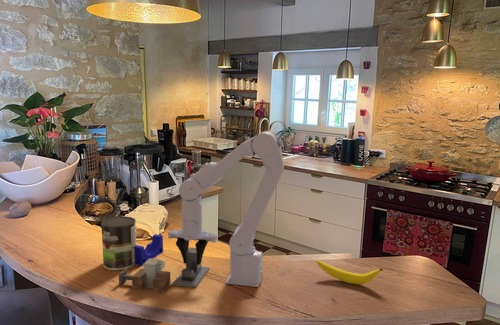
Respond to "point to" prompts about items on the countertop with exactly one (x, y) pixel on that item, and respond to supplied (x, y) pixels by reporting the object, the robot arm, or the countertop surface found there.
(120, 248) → the coffee can
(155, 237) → the blue cradle bracket
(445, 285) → the countertop surface
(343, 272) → the banana
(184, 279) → the gray stepped bracket
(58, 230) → the countertop surface
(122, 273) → the vise
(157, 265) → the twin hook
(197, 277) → the pad
